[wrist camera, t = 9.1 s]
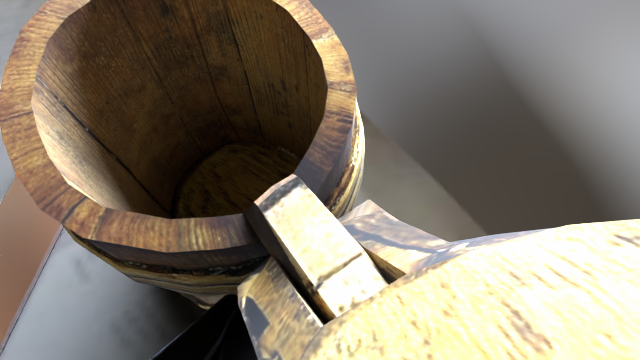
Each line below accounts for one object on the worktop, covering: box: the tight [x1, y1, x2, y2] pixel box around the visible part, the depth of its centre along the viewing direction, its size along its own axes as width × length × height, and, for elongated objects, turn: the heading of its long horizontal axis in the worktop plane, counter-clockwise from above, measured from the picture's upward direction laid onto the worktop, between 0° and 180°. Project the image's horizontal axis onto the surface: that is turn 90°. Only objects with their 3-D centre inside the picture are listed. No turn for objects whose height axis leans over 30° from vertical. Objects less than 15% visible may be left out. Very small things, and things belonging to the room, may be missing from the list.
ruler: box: [0, 175, 63, 354], centre depth 15 cm, size 20×3×1 cm, turn 167°
